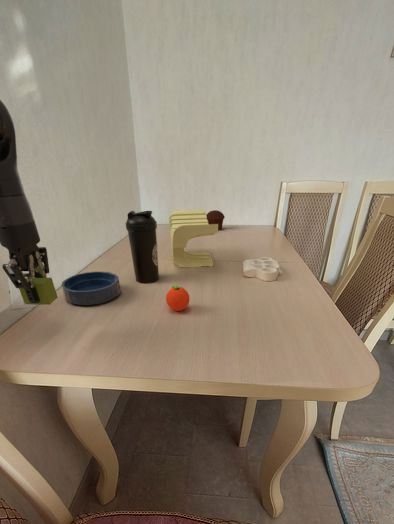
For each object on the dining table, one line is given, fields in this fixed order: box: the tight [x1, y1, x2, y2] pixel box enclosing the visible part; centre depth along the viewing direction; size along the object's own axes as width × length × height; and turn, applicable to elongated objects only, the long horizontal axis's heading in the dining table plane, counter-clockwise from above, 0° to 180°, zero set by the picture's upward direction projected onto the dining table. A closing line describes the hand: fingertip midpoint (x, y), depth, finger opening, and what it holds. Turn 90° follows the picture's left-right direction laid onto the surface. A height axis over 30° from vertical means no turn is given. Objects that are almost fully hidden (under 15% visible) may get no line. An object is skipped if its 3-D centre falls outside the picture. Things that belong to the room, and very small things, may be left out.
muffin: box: [206, 210, 225, 232], centre depth 173 cm, size 12×11×10 cm
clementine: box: [165, 285, 191, 312], centre depth 87 cm, size 8×7×7 cm
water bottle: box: [125, 210, 160, 284], centre depth 103 cm, size 10×10×23 cm
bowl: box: [60, 271, 122, 306], centre depth 96 cm, size 18×18×5 cm
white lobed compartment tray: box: [242, 256, 284, 282], centre depth 112 cm, size 3×18×15 cm
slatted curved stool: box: [168, 209, 219, 268], centre depth 120 cm, size 30×16×18 cm, turn 7°
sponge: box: [18, 277, 58, 306], centre depth 68 cm, size 6×4×5 cm, turn 87°
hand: (40, 298), depth 69 cm, fingers closed on sponge, 4 cm apart
